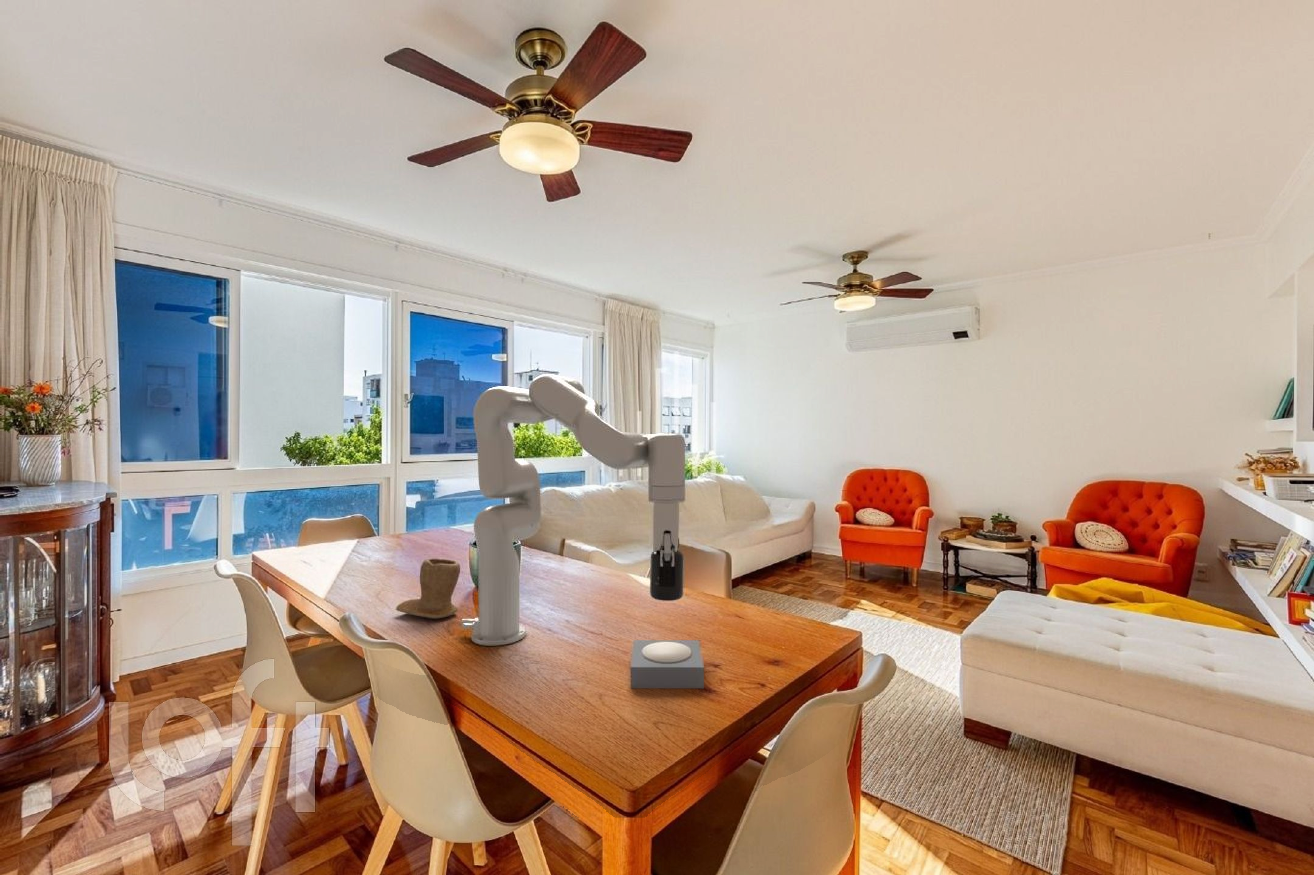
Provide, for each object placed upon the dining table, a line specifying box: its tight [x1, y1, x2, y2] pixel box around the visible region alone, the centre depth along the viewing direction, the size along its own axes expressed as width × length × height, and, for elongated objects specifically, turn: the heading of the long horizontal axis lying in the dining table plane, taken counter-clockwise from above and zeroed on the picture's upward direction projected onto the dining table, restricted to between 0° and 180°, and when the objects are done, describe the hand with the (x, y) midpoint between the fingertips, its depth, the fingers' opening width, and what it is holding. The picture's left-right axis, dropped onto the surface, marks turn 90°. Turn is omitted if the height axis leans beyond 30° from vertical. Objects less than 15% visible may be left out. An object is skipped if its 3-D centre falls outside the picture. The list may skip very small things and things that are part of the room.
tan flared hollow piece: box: [395, 557, 461, 619], centre depth 148 cm, size 15×12×15 cm
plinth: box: [630, 639, 705, 689], centre depth 111 cm, size 14×14×4 cm
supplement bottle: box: [649, 537, 685, 602], centre depth 111 cm, size 7×7×12 cm
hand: (666, 580), depth 111 cm, fingers closed on supplement bottle, 6 cm apart
